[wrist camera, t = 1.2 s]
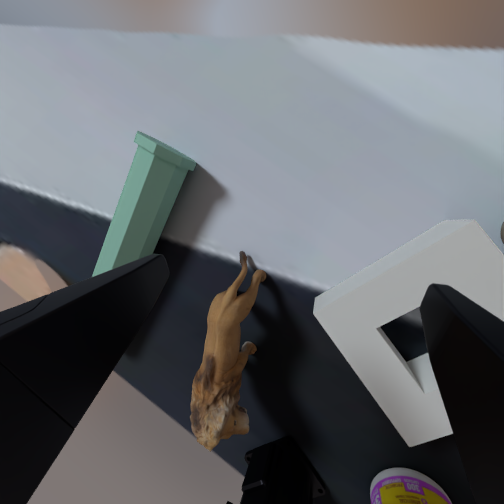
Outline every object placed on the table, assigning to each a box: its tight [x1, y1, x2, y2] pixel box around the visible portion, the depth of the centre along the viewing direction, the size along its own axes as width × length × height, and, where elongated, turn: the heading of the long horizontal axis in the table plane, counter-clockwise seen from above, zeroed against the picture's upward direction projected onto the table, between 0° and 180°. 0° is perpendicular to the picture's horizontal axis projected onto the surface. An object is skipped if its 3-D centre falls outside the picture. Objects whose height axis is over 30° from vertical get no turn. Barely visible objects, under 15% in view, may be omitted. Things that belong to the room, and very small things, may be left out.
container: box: [92, 131, 197, 277], centre depth 25 cm, size 6×6×25 cm
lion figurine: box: [190, 251, 266, 451], centre depth 20 cm, size 15×5×9 cm, turn 0°
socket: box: [313, 220, 504, 447], centre depth 18 cm, size 12×12×4 cm
